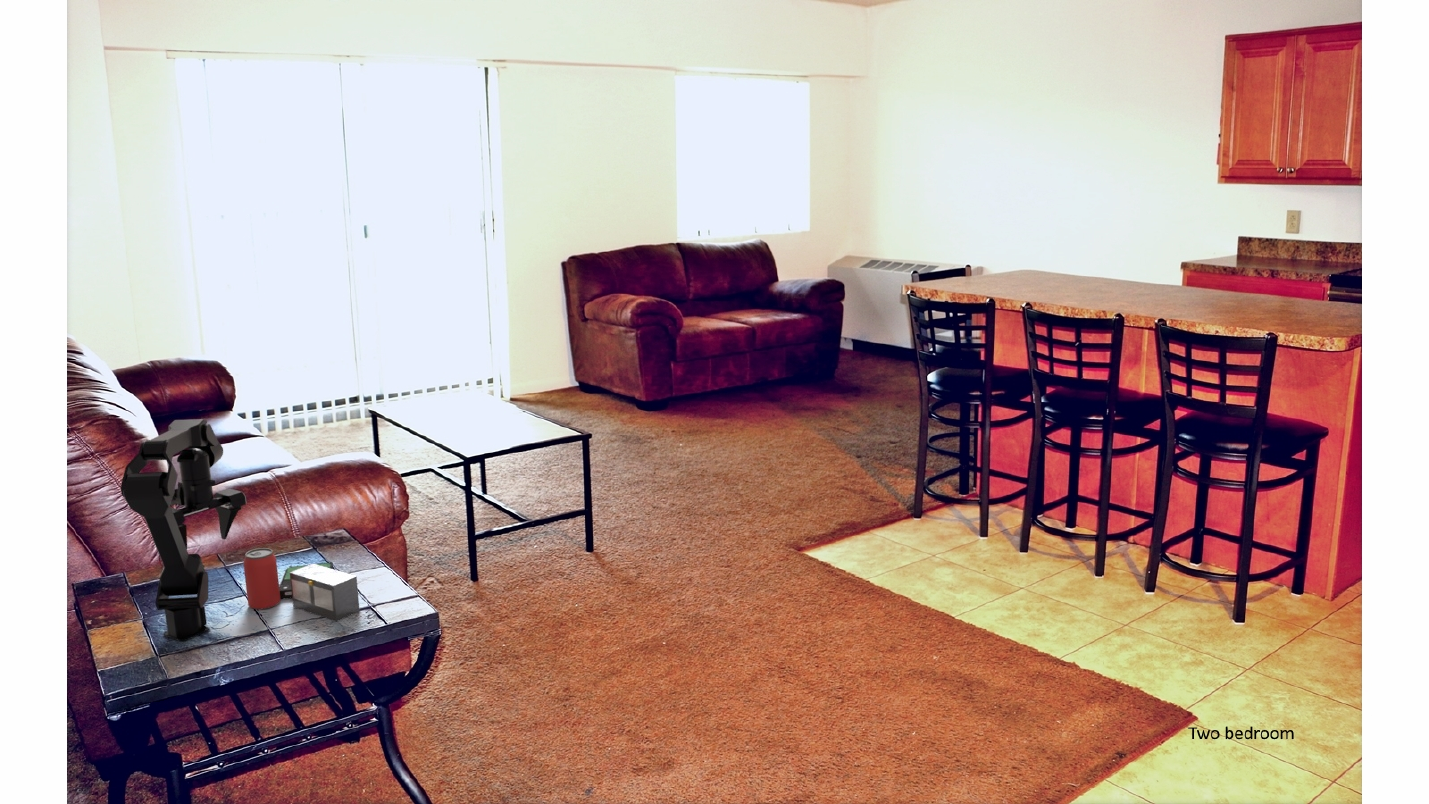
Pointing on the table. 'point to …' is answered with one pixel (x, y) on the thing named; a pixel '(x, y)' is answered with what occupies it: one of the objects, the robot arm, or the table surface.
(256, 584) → the beer can
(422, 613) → the table surface
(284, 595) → the disk drive
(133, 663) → the table surface
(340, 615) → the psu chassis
